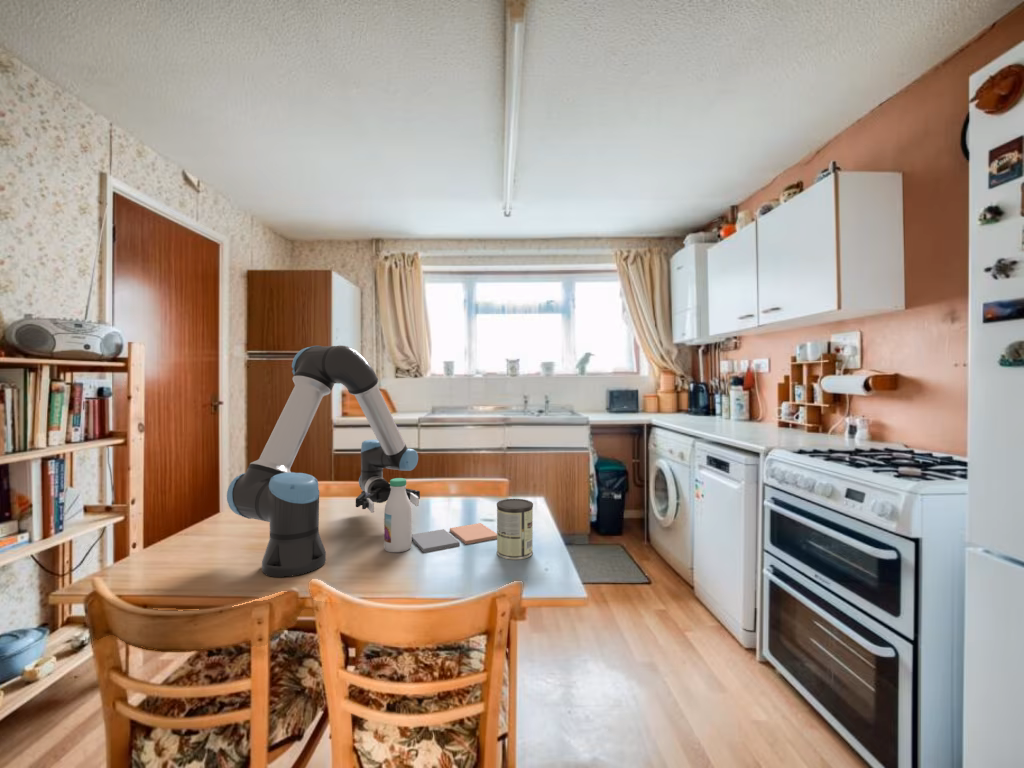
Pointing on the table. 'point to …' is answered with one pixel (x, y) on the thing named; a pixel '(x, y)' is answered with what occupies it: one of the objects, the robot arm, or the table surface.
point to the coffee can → (514, 529)
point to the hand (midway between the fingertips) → (395, 504)
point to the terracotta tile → (473, 533)
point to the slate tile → (434, 540)
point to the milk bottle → (398, 518)
